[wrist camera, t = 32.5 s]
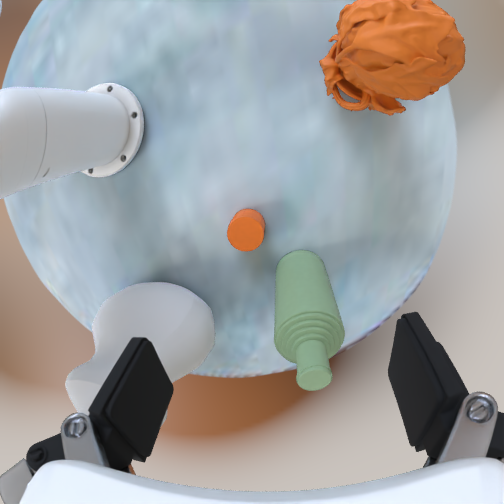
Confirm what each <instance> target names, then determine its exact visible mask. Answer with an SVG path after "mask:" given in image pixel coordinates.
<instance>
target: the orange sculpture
mask: <svg viewBox="0 0 504 504" xmlns="http://www.w3.org/2000/svg"><path fill="white" fill-rule="evenodd" d="M454 21H455V19H454V18H453V17H450V15H449V14H448V13H447V12H445V11H444V10H443V9H442V8H440V7H438V6H437V5H436V4H434V3H433V2H432V1H431V0H357V1H355V2H354V3H353V4H351V5H349V4H348V5H346V6H345V7H344V9H342V10H341V12H340V16H339V21H338V22H337V25H336V27H337V29H338V34H335V35H334V36H332V37H331V39H330V40H329V42H332V41H333V40H337V42H336V43H335V44H334V45H333V46H332V48H331V50H330V51H329V53H328V55H327V56H326V57H325V58H324V59H322V60H320V61H319V62H320V65H321V67H322V69H323V73H324V74H325V80H324V81H325V85H326V87H327V95H328V96H329V95H330V94H331V93H333V96H334V97H333V98H332V99H334V98H335V100H336V101H337V103H338V104H339V105H340V106H341V107H343V108H345V109H348V110H351V111H352V110H354V111H360V110H364V109H365V108H367V107H368V106H369V107H368V108H369V110H377V111H380V112H382V113H385V114H388V115H393V114H394V113H402V112H403V111H405V110H406V109H405V107H404V106H402V105H401V103H400V102H398V101H396V100H395V98H400V99H403V100H404V99H405V100H414V101H418V100H421V99H423V98H425V97H426V96H428V95H432V94H434V92H436V91H438V90H439V87H441V86H443V85H445V84H447V83H448V82H449V81H450V80H452V79H453V78H454V76H455V75H456V74H457V73H458V72H460V70H461V69H462V68H463V66H464V63H465V44H464V43H463V41H464V38H463V37H462V36H461V34H460V33H459V32H458V30H457V27H456V24H455V22H454ZM337 86H338V87H339V89H341V90H342V91H343V92H344V93H345V94H347V95H348V96H350V97H352V98H354V99H357V100H360V102H358V103H351V102H347V101H345V100H344V99H343V98H342V97H341V95H340V93H339V91H338V88H337Z"/></svg>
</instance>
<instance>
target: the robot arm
mask: <svg viewBox="0 0 504 504" xmlns="http://www.w3.org/2000/svg"><path fill="white" fill-rule="evenodd" d="M1 9H2V0H0V15H1ZM112 89H113V90H112ZM136 115H137V117H136ZM143 132H144V117H143V111H142V108H141V105H140V103H139V101H138V99H137V97H136V96H135V95H134V94H133V93H132V92H131V91H130V90H129V89H127V88H126V87H124V86H121V85H118V84H114V83H103V84H99V85H96V86H94V87H92V88H90V89H88V90H87V91H86V92H85V91H77V90H67V89H55V88H40V87H10V88H6V89H2V90H0V199H2V198H4V197H7V196H9V195H12V194H14V193H17V192H19V191H22V190H25V189H27V188H30V187H33V186H36V185H39V184H42V183H44V182H47V181H51V180H54V179H57V178H60V177H63V176H66V175H70V174H73V173H76V172H80V171H81V172H83V173H84V174H86V175H88V176H92V177H106V176H110V175H113V174H115V173H117V172H119V171H121V170H122V169H124V168H125V167H126V166H127V165H128V164H129V163H130V162H131V160H132V159H133V158H134V157H135V155H136V153H137V151H138V149H139V147H140V144H141V141H142V137H143ZM125 157H126V158H125ZM388 376H389V380H390V382H391V385H392V388H393V391H394V394H395V397H396V400H397V403H398V406H399V410H400V413H401V416H402V419H403V422H404V426H405V429H406V432H407V436H408V440H409V443H410V445H411V446H415V449H416V452H419V451H422V450H425V449H426V452H427V455H428V456H429V457H428V459H427V461H426V463H425V464H424V466H423V468H421V469H417V470H413V471H410V472H406V473H403V474H399V475H396V476H391V477H387V478H382V479H378V480H373V481H368V482H364V483H358V484H353V485H346V486H340V487H333V488H324V489H315V490H301V491H281V492H252V491H230V490H218V489H208V488H200V487H192V486H186V485H180V484H174V483H168V482H163V481H159V480H154V479H149V478H145V477H141V476H137V475H136V474H135V472H134V470H133V467H132V465H131V461H132V459H133V460H136V461H141V462H145V461H146V458H147V457H149V456H150V455H151V452H152V449H153V447H154V444H155V441H156V438H157V435H158V433H159V430H160V427H161V424H162V422H163V419H164V416H165V413H166V411H167V408H168V405H169V402H170V400H171V397H172V394H173V385H172V382H171V381H170V379H169V377H168V375H167V373H166V371H165V369H164V367H163V365H162V363H161V361H160V358H159V356H158V354H157V352H156V350H155V348H154V346H153V344H152V342H151V341H149V340H148V339H147V338H146V337H133V338H131V340H130V341H129V343H128V344H127V346H126V347H125V349H124V351H123V352H122V354H121V355H120V357H119V359H118V360H117V362H116V363H115V365H114V367H113V368H112V370H111V372H110V373H109V375H108V377H107V378H106V380H105V382H104V383H103V385H102V387H101V388H100V390H99V392H98V393H97V395H96V397H95V399H94V400H93V402H92V404H91V405H90V407H89V409H88V411H89V415H88V416H87V415H86V414H84V413H73V414H71V415H69V416H68V417H67V418H66V419H65V420H64V421H63V423H62V426H61V433H60V434H57V435H55V436H53V437H50V438H48V439H45V440H43V441H41V442H38V443H36V444H34V445H32V446H31V447H30V448H29V450H28V453H27V456H26V460H25V459H24V458H23V459H22V460H21V461H19V462H18V463H17V464H16V465H14V466H13V467H12V468H10V469H9V470H8V471H6V472H5V473H4V474H2V475H1V476H0V495H1V498H2V500H3V502H4V504H504V413H501V412H498V406H497V403H496V401H495V399H494V398H493V397H492V396H491V395H490V394H487V393H485V392H474V393H472V394H469V393H468V391H467V389H466V387H465V385H464V383H463V381H462V379H461V377H460V376H459V374H458V372H457V370H456V368H455V367H454V365H453V363H452V362H451V360H450V358H449V356H448V354H447V353H446V351H445V350H444V348H443V346H442V345H441V344H440V343H439V342H436V341H435V339H434V337H433V336H432V334H431V332H430V331H429V329H428V328H427V326H426V324H425V323H424V321H423V320H422V318H421V317H420V315H419V314H418V312H412V313H407V314H403V315H402V316H401V319H398V320H397V325H396V331H395V337H394V343H393V348H392V353H391V358H390V363H389V368H388Z"/></svg>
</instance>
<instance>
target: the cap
mask: <svg viewBox="0 0 504 504" xmlns="http://www.w3.org/2000/svg"><path fill="white" fill-rule="evenodd" d="M264 230H265V221H264V218H263V217H262V215H261V214H260V213H259V212H257V211H256V210H253V209H243V210H240V211H239V212H237V213H236V214H235V216H234V217H233V219H232V220H231V222H230V224H229V226H228V230H227V237H228V240H229V242H230V243H231V245H232V246H233V247H235V248H236V249H238V250H240V251H252V250H254V249H256V248H258V247H259V246H260V244H261V243H262V241H263V238H264Z"/></svg>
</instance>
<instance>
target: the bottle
mask: <svg viewBox="0 0 504 504" xmlns="http://www.w3.org/2000/svg"><path fill="white" fill-rule="evenodd" d="M344 336H345V331H344V327H343V323H342V320H341V317H340V313H339V310H338V307H337V304H336V300H335V297H334V294H333V291H332V288H331V284H330V281H329V278H328V275H327V272H326V269H325V266H324V263H323V261H322V260H321V259H320V258H319V256H317V255H316V254H314V253H312V252H310V251H305V250H297V251H293V252H290V253H288V254H287V255H285V256H284V257H283V258H282V259H281V260H280V261H279V263H278V265H277V268H276V284H275V327H274V343H275V347H276V349H277V350H278V352H279V353H280V354H281V355H282V356H283V357H284V358H285V359H286V360H288V361H290V362H292V363H295V364H297V377H296V380H297V383H298V384H299V386H300V387H301V388H303V389H305V390H310V391H312V390H319V389H322V388H324V387H326V386H327V385H328V384H329V383H330V382H331V381H332V372H331V369H330V367H329V361H328V359H329V358H331V357H332V356H333V355H335V354H336V353H337V351H338V350H339V349H340V347H341V345H342V343H343V341H344Z"/></svg>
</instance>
